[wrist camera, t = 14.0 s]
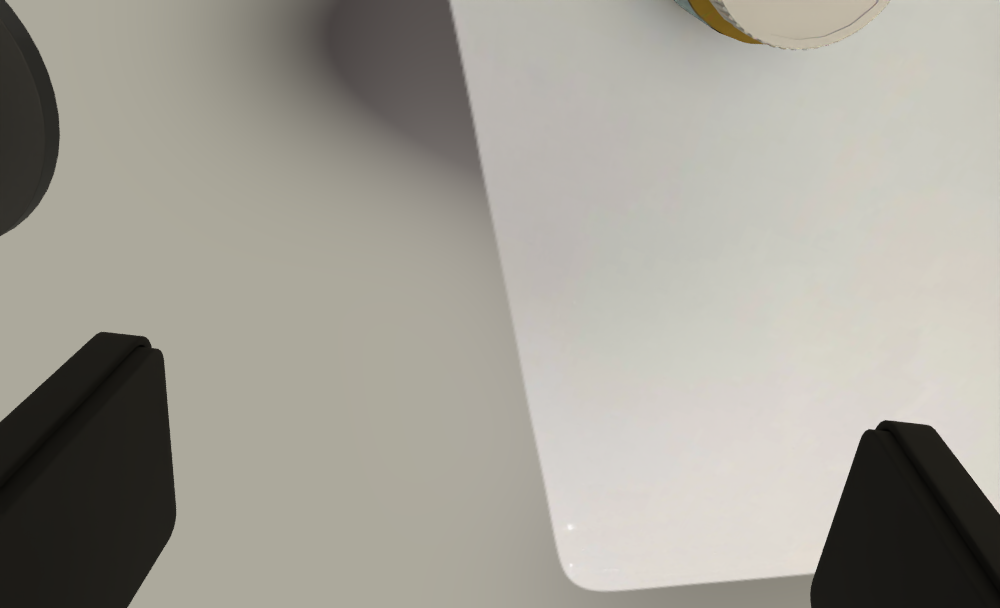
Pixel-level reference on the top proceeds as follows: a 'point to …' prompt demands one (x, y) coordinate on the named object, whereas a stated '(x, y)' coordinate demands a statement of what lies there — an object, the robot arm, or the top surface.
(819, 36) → the bottle
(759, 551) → the top surface
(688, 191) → the top surface
